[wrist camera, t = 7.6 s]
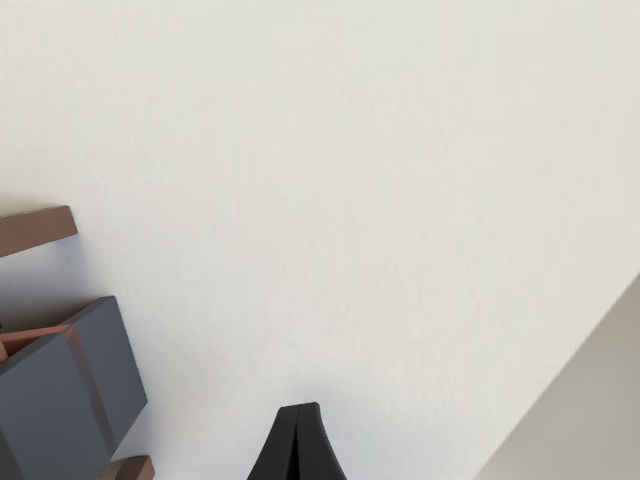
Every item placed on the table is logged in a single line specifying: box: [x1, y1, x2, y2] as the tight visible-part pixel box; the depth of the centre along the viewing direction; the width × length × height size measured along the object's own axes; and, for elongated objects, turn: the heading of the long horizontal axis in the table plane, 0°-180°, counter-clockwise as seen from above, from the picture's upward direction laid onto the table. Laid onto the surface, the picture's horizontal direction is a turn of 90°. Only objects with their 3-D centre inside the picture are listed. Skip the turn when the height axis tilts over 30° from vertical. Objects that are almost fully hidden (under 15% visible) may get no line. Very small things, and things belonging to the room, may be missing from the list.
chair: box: [0, 296, 147, 480], centre depth 12 cm, size 6×6×6 cm
